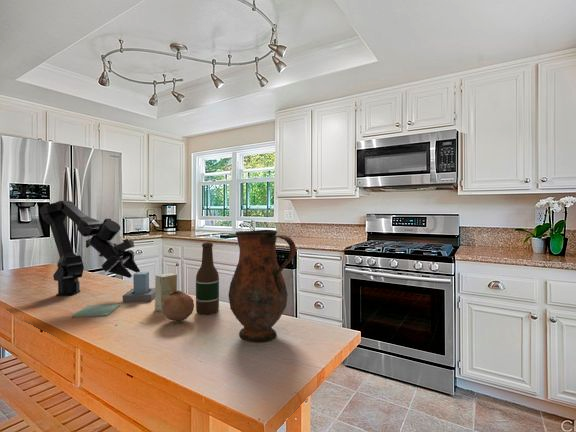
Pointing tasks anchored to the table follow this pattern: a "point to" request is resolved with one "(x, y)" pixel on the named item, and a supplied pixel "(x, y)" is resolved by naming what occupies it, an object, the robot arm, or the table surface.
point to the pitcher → (259, 284)
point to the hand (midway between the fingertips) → (135, 274)
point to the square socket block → (139, 296)
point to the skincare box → (164, 288)
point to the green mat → (96, 310)
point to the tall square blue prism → (141, 282)
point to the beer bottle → (207, 284)
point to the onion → (178, 306)
